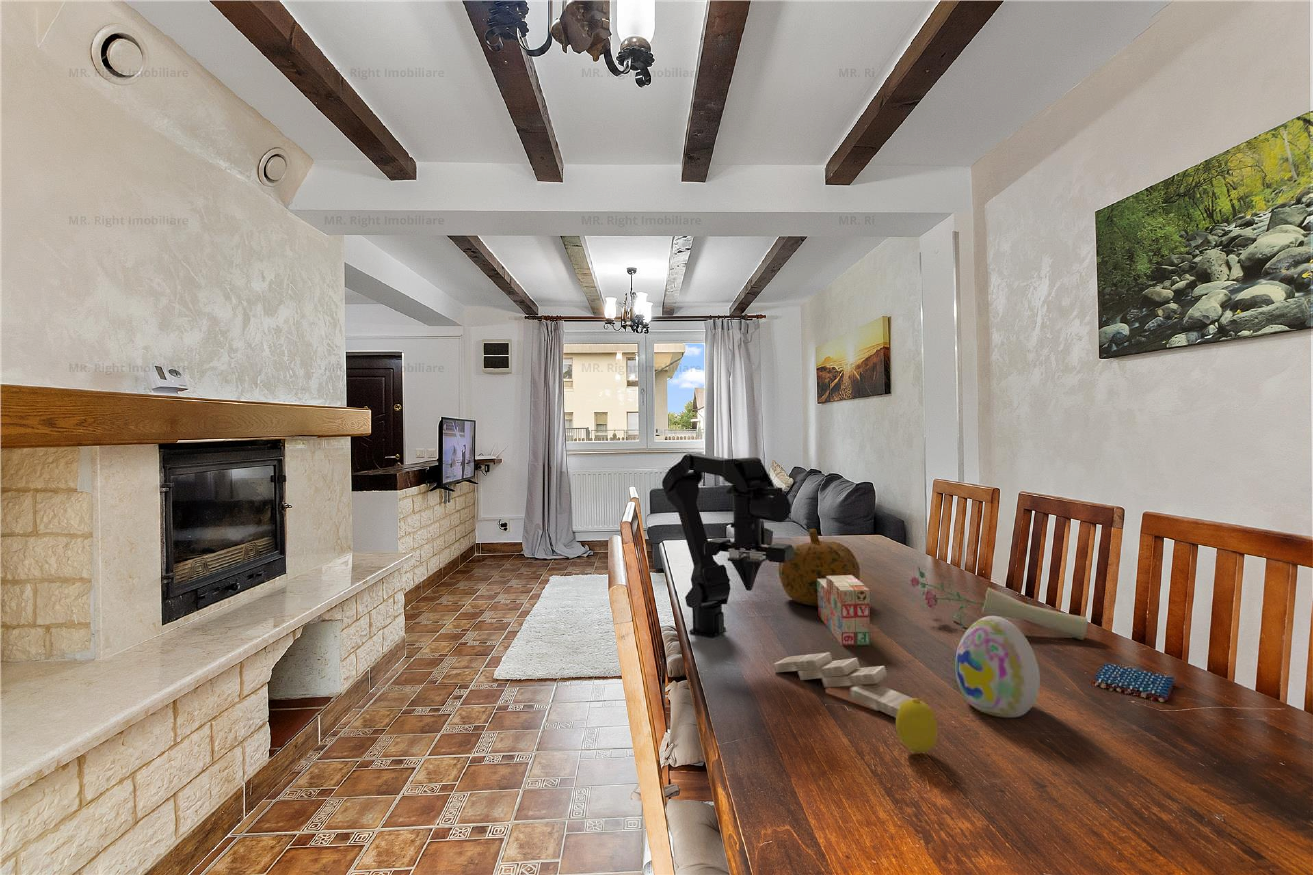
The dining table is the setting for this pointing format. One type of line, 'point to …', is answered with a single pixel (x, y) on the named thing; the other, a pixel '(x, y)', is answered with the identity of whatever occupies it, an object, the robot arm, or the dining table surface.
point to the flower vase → (1013, 610)
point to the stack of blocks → (845, 608)
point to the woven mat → (1134, 682)
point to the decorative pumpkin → (815, 568)
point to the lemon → (916, 725)
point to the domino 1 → (803, 662)
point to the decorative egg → (997, 668)
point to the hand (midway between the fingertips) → (749, 590)
